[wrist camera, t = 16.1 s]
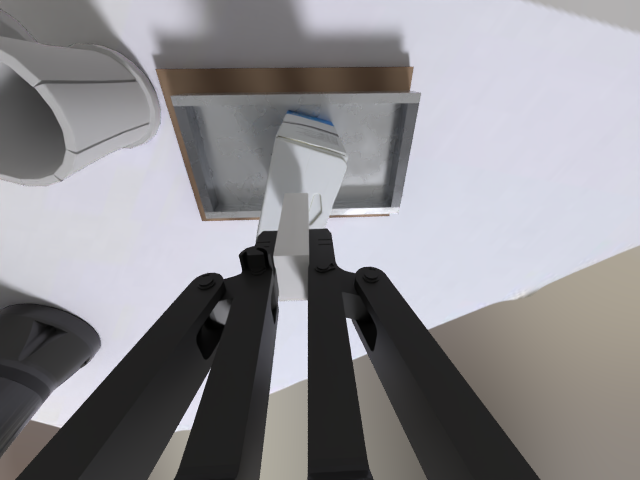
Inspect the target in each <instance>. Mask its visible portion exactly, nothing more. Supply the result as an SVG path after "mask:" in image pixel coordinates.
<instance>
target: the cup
mask: <svg viewBox="0 0 640 480" xmlns="http://www.w3.org/2000/svg"><path fill="white" fill-rule="evenodd" d="M160 123H161V108H160V105H159V101H158V98H157V94H156V92H155V90H154V89H153V87H152V85H151V83H150V82H149V80H148V78H147V77H146V76H145V75H144V74H143V73H142V71H141V70H140V69H139V68H138V67H137V66H136V65H135V64H134V63H133V62H132V61H130V60H129V59H127V58H126V57H125V56H123V55H122V54H120V53H119V52H117V51H115V50H112V49H109V48H107V47H104V46H101V45H95V44H76V43H75V44H73V45H70V46H68V47H60V46H52V45H45V44H40V43H38V42H37V41H36V40H35V39H34V38H33V37H32V36H31V34H30V33H29V32H28V31H27V30H26V29H25V28H24V27H23V26H22V25H21V23H20V22H19V21H17V20H16V19H15V18H13V17H12V16H10V15H9V14H7V13H6V12H4V11H3V10H2V9H0V180H4V181H8V182H11V183H15V184H19V185H23V186H24V185H25V186H49V185H52V184H55V183H58V182H61V181H63V180H64V179H66V178H68V177H70V176H71V175H73V174H75V173H76V172H78V171H80V170H81V169H83V168H85V167H86V166H88V165H90V164H92V163H94V162H95V161H97V160H99V159H101V158H103V157H105V156H106V155H108V154H110V153H112V152H114V151H117V150H119V149H121V148H129V149H131V148H134V147H137V146H140V145H143V144H145V143H147V142H149V141H150V140H151V139H152V138H153V137H154V136H155V135H156V133H157V131H158V128H159V126H160Z"/></svg>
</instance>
